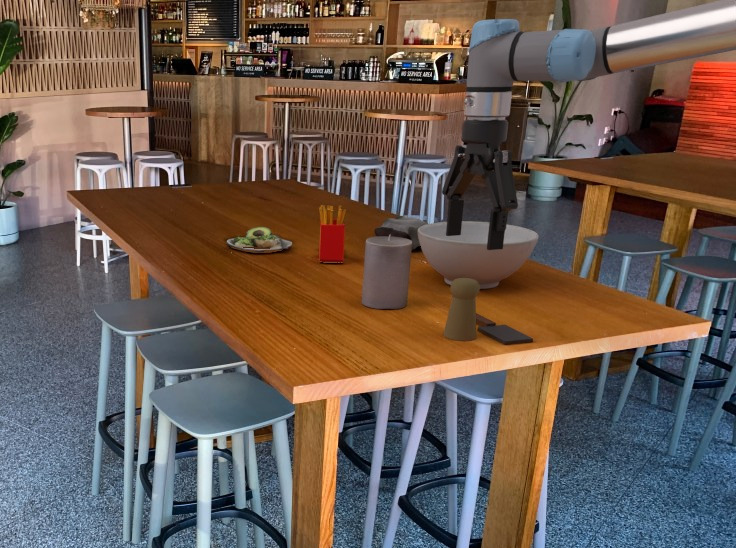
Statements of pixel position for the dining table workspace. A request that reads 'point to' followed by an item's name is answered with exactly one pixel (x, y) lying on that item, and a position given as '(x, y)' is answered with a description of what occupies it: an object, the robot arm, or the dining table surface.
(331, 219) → the french fries container
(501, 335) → the spatula
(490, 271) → the decorative bowl
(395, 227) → the rock
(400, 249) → the pillar candle
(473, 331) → the pepper mill
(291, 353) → the dining table surface
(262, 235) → the salad plate
